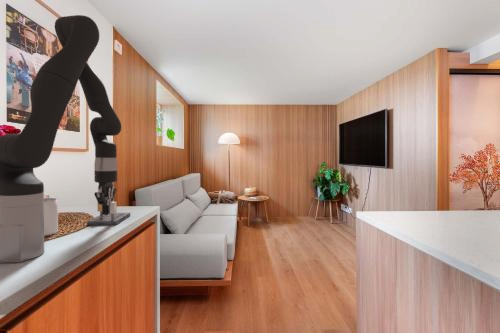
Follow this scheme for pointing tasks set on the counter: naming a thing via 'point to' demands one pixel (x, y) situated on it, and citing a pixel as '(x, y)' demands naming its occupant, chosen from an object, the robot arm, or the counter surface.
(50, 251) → the counter surface
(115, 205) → the knob
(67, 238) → the counter surface
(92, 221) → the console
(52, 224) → the can
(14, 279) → the counter surface
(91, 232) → the counter surface
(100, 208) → the knob
